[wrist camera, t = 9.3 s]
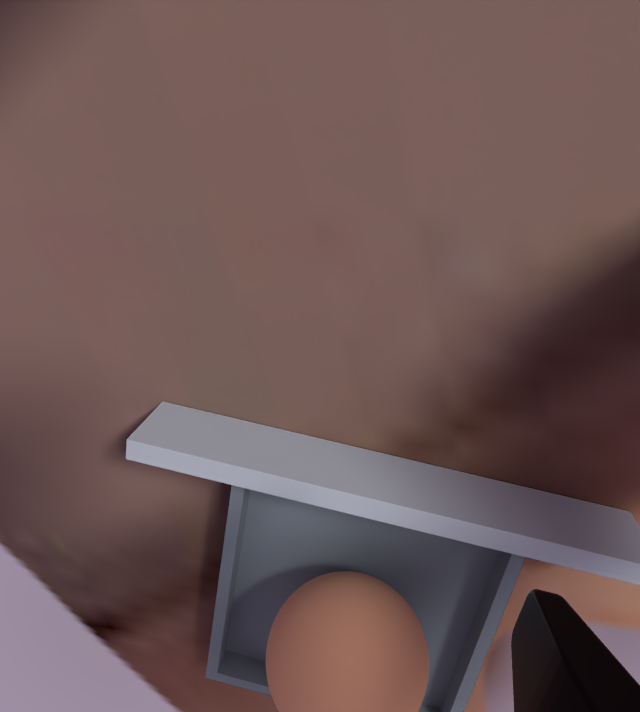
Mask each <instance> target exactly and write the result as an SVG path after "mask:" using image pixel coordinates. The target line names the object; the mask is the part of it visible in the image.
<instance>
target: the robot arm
mask: <svg viewBox="0 0 640 712" xmlns="http://www.w3.org/2000/svg"><path fill="white" fill-rule="evenodd" d="M511 644H512V645H511V647H512V670H513V694H514V712H640V685H639V684H638V683H637V682H636V680H635V679H634V678H633V677H632V676H631V675H630V674H629V673H628V671H627V670H626V669H625V668H624V667H623V666H622V664H621V663H620V662H619V661H618V660H617V659H616V658H615V656H614V655H613V654H612V653H611V652H610V651H609V650H608V648H607V647H606V646H605V645H604V644H603V643H602V642H601V640H600V639H599V638H598V637H597V636H596V635H595V634H594V632H593V631H592V630H591V629H590V628H589V627H588V626H587V624H586V623H585V622H584V621H583V620H582V619H581V617H580V616H579V615H578V614H577V613H576V612H575V611H574V609H573V608H572V607H571V606H570V605H569V604H568V603H567V601H566V600H565V599H564V598H563V597H561V596H560V595H558V594H554V593H550V592H546V591H542V590H538V589H534V590H532V591H530V593H529V594H528V596H527V598H526V600H525V603H524V605H523V607H522V610H521V612H520V615H519V617H518V619H517V622H516V624H515V626H514V629H513V633H512V642H511Z"/></svg>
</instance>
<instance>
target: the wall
mask: <svg viewBox="0 0 640 712" xmlns="http://www.w3.org/2000/svg"><path fill="white" fill-rule="evenodd" d="M126 459H128V460H132V461H136V462H140V463H144V464H148V465H153V466H157V467H161V468H165V469H169V470H173V471H177V472H181V473H185V474H189V475H193V476H197V477H201V478H205V479H210V480H214V481H218V482H222V483H226V484H230V485H234V486H238V487H242V488H246V489H250V490H254V491H258V492H262V493H267V494H271V495H275V496H279V497H283V498H287V499H291V500H295V501H299V502H303V503H307V504H311V505H315V506H319V507H324V508H328V509H332V510H336V511H340V512H344V513H348V514H352V515H356V516H360V517H364V518H368V519H372V520H376V521H381V522H385V523H389V524H393V525H397V526H401V527H405V528H409V529H413V530H417V531H421V532H425V533H429V534H433V535H438V536H442V537H446V538H450V539H454V540H458V541H462V542H466V543H470V544H474V545H478V546H482V547H486V548H490V549H495V550H499V551H503V552H507V553H511V554H515V555H519V556H523V557H527V558H531V559H535V560H539V561H543V562H547V563H552V564H556V565H560V566H564V567H568V568H572V569H576V570H580V571H584V572H588V573H592V574H596V575H600V576H604V577H609V578H613V579H617V580H621V581H625V582H629V583H633V584H637V585H640V527H639V525H638V524H637V522H636V520H635V518H634V517H633V515H632V513H631V512H630V511H625V510H621V509H617V508H613V507H608V506H604V505H600V504H596V503H591V502H587V501H583V500H579V499H574V498H570V497H566V496H562V495H557V494H553V493H549V492H545V491H540V490H536V489H532V488H528V487H524V486H519V485H515V484H511V483H507V482H502V481H498V480H494V479H490V478H485V477H481V476H477V475H473V474H468V473H464V472H460V471H456V470H451V469H447V468H443V467H439V466H434V465H430V464H426V463H422V462H418V461H413V460H409V459H405V458H401V457H396V456H392V455H388V454H384V453H379V452H375V451H371V450H367V449H362V448H358V447H354V446H350V445H345V444H341V443H337V442H333V441H328V440H324V439H320V438H316V437H311V436H307V435H303V434H299V433H295V432H290V431H286V430H282V429H278V428H273V427H269V426H265V425H261V424H256V423H252V422H248V421H244V420H239V419H235V418H231V417H227V416H222V415H218V414H214V413H210V412H205V411H201V410H197V409H193V408H189V407H184V406H180V405H176V404H172V403H167V402H162V403H161V404H160V405H159V406H158V407H157V408H156V409H155V410H154V411H153V412H152V413H151V414H150V415H149V416H148V417H147V418H146V420H145V421H144V422H143V423H142V424H141V425H140V426H139V427H138V428H137V429H136V430H135V431H134V432H133V433H132V434H131V435H130V436H129V437H128V438H127V443H126Z"/></svg>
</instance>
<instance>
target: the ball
mask: <svg viewBox="0 0 640 712" xmlns="http://www.w3.org/2000/svg"><path fill="white" fill-rule="evenodd" d="M266 674H267V682H268V686H269V689H270V693H271V696H272V699H273V701H274V704H275V706H276V708H277V710H278V712H418V711H419V709H420V706H421V704H422V701H423V699H424V696H425V692H426V688H427V683H428V674H429V657H428V649H427V643H426V640H425V636H424V633H423V630H422V627H421V625H420V623H419V621H418V619H417V617H416V614H415V613H414V611H413V610H412V608H411V607H410V605H409V604H408V603H407V601H406V600H405V599H404V598H403V597H402V596H401V595H400V594H399V593H398V592H397V591H396V590H394V589H393V588H392V587H391V586H389V585H388V584H387V583H385V582H383V581H381V580H380V579H378V578H375V577H373V576H370V575H367V574H364V573H359V572H352V571H339V572H331V573H327V574H323V575H321V576H318V577H316V578H314V579H312V580H310V581H308V582H306V583H305V584H303V585H302V586H301V587H299V588H298V589H297V590H296V591H295V592H294V593H293V594H292V595H291V596H290V597H289V598H288V599H287V600H286V602H285V603H284V604H283V606H282V607H281V609H280V610H279V612H278V614H277V616H276V618H275V620H274V622H273V625H272V627H271V630H270V634H269V637H268V642H267V648H266Z"/></svg>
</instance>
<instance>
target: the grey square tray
mask: <svg viewBox="0 0 640 712" xmlns="http://www.w3.org/2000/svg"><path fill="white" fill-rule="evenodd" d="M525 558H526V557H523V556H519V555H515V554H511V553H507V552H503V551H499V550H495V549H490V548H486V547H482V546H478V545H474V544H470V543H466V542H462V541H458V540H454V539H450V538H446V537H442V536H438V535H433V534H429V533H425V532H421V531H417V530H413V529H409V528H405V527H401V526H397V525H393V524H389V523H385V522H381V521H376V520H372V519H368V518H364V517H360V516H356V515H352V514H348V513H344V512H340V511H336V510H332V509H328V508H324V507H319V506H315V505H311V504H307V503H303V502H299V501H295V500H291V499H287V498H283V497H279V496H275V495H271V494H267V493H262V492H258V491H254V490H250V489H246V488H242V487H238V486H234V485H232V486H231V493H230V501H229V508H228V515H227V523H226V530H225V537H224V545H223V552H222V559H221V566H220V574H219V581H218V588H217V596H216V603H215V610H214V618H213V625H212V632H211V639H210V647H209V654H208V661H207V669H206V676H205V678H207V679H211V680H215V681H218V682H222V683H226V684H229V685H233V686H237V687H240V688H244V689H247V690H251V691H255V692H258V693H262V694H266V695H269V696H271V693H270V689H269V686H268V682H267V674H266V648H267V642H268V637H269V634H270V630H271V627H272V625H273V622H274V620H275V618H276V616H277V614H278V612H279V610H280V609H281V607H282V606H283V604H284V603H285V602H286V600H287V599H288V598H289V597H290V596H291V595H292V594H293V593H294V592H295V591H296V590H297V589H298V588H299V587H301V586H302V585H303V584H305V583H306V582H308V581H310V580H312V579H314V578H316V577H318V576H321V575H323V574H327V573H331V572H339V571H352V572H359V573H364V574H367V575H370V576H373V577H375V578H378V579H380V580H381V581H383V582H385V583H387V584H388V585H389V586H391V587H392V588H393V589H394V590H396V591H397V592H398V593H399V594H400V595H401V596H402V597H403V598H404V599H405V600H406V601H407V603H408V604H409V605H410V607H411V608H412V610H413V611H414V613H415V614H416V617H417V619H418V621H419V623H420V625H421V627H422V630H423V633H424V636H425V640H426V643H427V649H428V657H429V674H428V683H427V688H426V692H425V696H424V699H423V701H422V704H421V706H420V709H419V711H418V712H464V709H465V707H466V704H467V702H468V699H469V697H470V694H471V692H472V690H473V687H474V685H475V682H476V680H477V677H478V675H479V672H480V670H481V667H482V665H483V662H484V660H485V657H486V655H487V652H488V650H489V647H490V645H491V642H492V640H493V637H494V635H495V632H496V630H497V627H498V625H499V622H500V620H501V617H502V615H503V612H504V610H505V608H506V605H507V603H508V600H509V598H510V595H511V593H512V590H513V588H514V585H515V583H516V580H517V578H518V575H519V573H520V570H521V568H522V565H523V563H524V560H525Z"/></svg>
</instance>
